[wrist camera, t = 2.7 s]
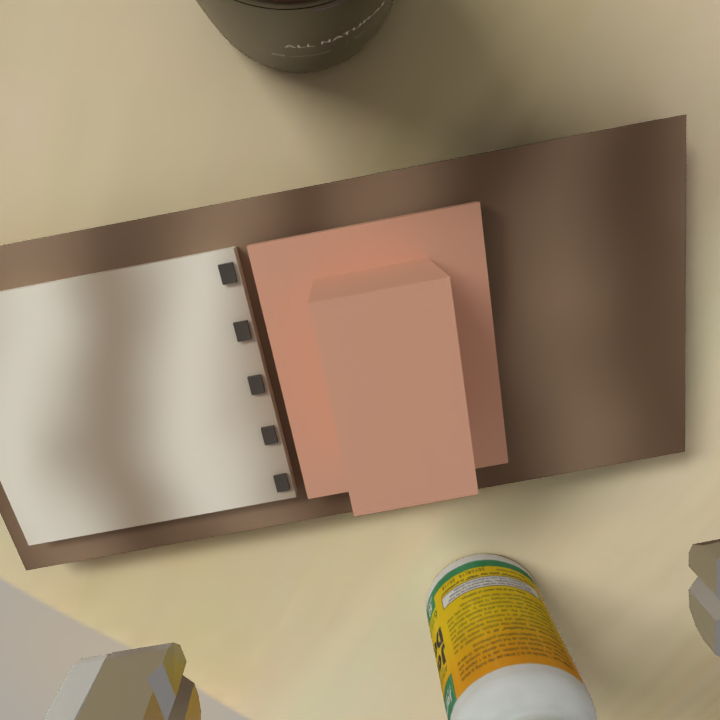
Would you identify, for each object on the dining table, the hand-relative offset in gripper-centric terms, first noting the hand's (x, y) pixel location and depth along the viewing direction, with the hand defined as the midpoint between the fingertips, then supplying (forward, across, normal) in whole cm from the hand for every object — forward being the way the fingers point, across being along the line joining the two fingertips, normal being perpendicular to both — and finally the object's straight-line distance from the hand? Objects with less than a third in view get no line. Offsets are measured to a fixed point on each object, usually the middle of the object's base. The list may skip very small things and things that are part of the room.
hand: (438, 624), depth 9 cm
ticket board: (+15, +2, 0) cm, 15 cm away
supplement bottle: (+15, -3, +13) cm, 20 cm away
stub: (+13, 0, 0) cm, 13 cm away
